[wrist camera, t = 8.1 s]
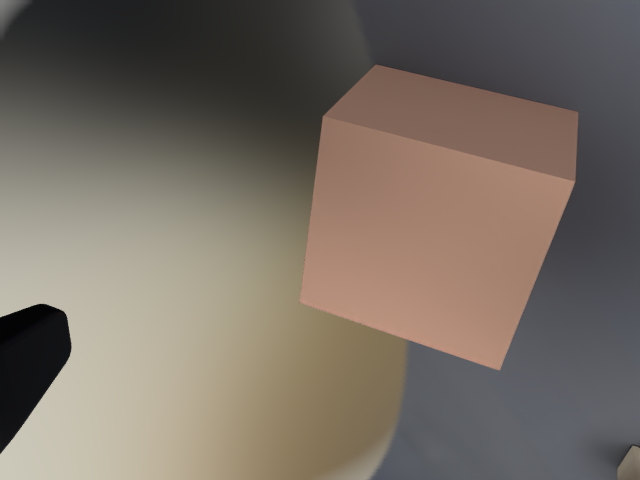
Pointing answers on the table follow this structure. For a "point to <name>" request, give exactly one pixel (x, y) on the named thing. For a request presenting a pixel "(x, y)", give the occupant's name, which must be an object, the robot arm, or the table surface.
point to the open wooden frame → (630, 465)
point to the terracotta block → (436, 209)
